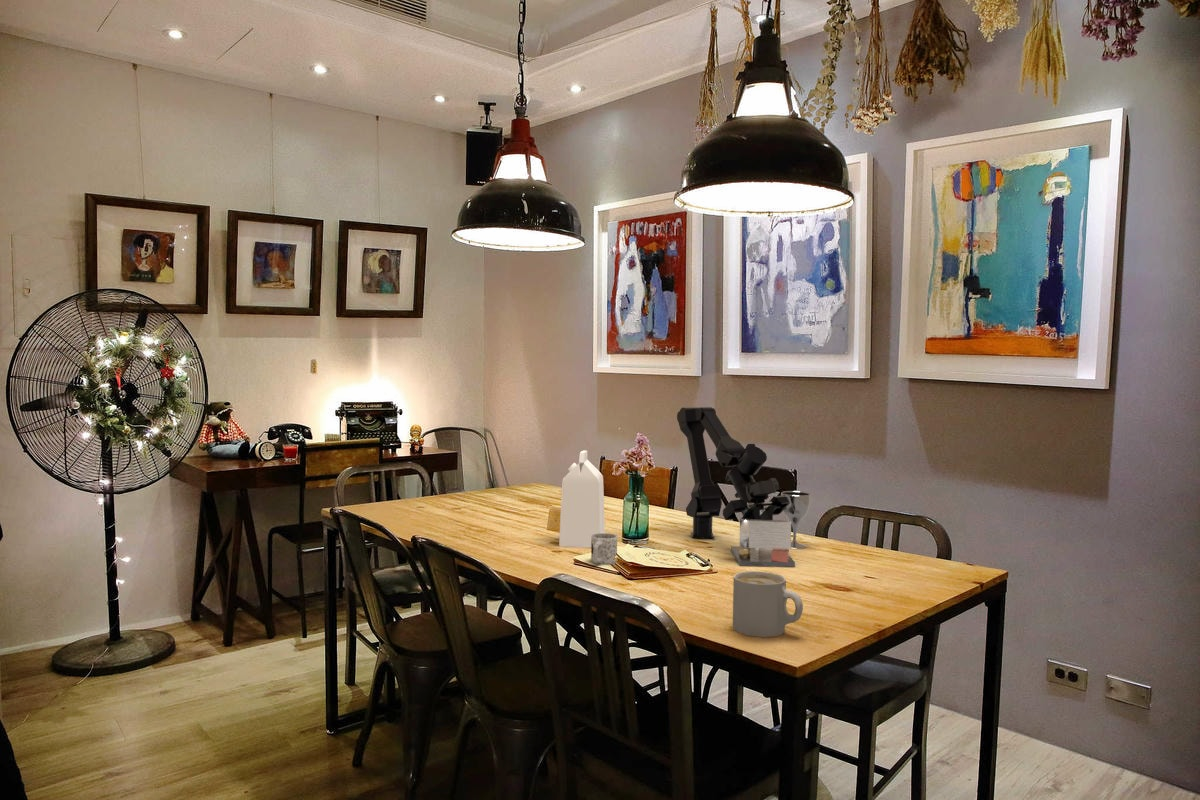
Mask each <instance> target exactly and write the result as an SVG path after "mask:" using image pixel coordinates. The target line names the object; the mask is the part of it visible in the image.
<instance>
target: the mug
mask: <svg viewBox="0 0 1200 800" xmlns="http://www.w3.org/2000/svg"><path fill="white" fill-rule="evenodd" d="M590 549H591V550H590V552H591V554H590V562H591V563H592V564H596V565H602V566H604V565H605V566H606V565H608V566H609V565H614V564H617V563H618V559H617V558H618V557H617V558H616V559H614V558H615V556H616V553H617V554H618V535H616V534H615V533H609V532H608V533H607V532H605V533H599V534H593V535H592V536H591V548H590ZM612 559H614V560H612Z"/></svg>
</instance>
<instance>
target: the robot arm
mask: <svg viewBox="0 0 1200 800" xmlns="http://www.w3.org/2000/svg"><path fill="white" fill-rule="evenodd" d="M676 420H677V423H678V426H679V430H680V431H681V433H682V434H684V436H685V437H686V439H687V445H688V446H687V447H688V451H689V458H690V463H691V468H692V476H693V480H694V481H693V482H694V485H693V488H692V490H691V493H690V495H691V497H690V498H691V499H690V501H689V502H688V504H687V506H686V507H685V511H686V516H689V517H690V518H692V531H691V532H690V536H691V538H692V539H710V540H711V539H715V535H714V533H713V518H714V517H719V516H720V512H721V509H722V505H723V501H722V494H721V490H720V489H721V488H720V485H718V484H714V482H713V481H712V478H711V477H712V476H711V473H710V472H711V471H710V466H709V460H708V454H707V449H706V444H705V437H704V433H705V431H706V434H707V435H708V437H709V438H710V439H711V442H712V443H713V444H714V447H715V456H716V459H717V461H718V464H719V465H720V466H721V467H723V468H730V469H729V470H727V471H726V476H725V481H726V482H730V481H731V483H732V485H733V487H734V489H735V492H736V493H735V494H734V496H735V499H733V500H730V501H729V502H728V503H727V504H726V506H725V507H724V508H723V510H722V516H723V518H724V520H725V521H731V520H735V519H736V516H737V515H736V513H741V514H742V517H741V518H740V519H758V520H774V516H777V515H780V514H782V512H783V510H784V509H785V508H786V507H787V506H788V505H789V504H790V502H789V500H788V498H787V496H781V495H776V496H775V495H774V496H773V497H772V498H771V499H770V500H769V501H766V500H768V498H769V497H770V496H769V495H771V494H775V493H777V491H778V490H779V489H780V485H779V482H778V481H779V480H777V479H776V477H771V478H769V479H767V480H761V481H755V479H754V477H753V476H756V474H758V472H759V470H760V469H761V468H762V467H763V465H764V464H765V463H766V461H767V459H768V458H767V453H766V452H765V451H763V449H761V447H757V446H756V444H755V443H747V444H746V446H745V447H744V446H743V445H742V444H741V443H740V442H739V441H738V440H737V439H734V438H733V437H731V436H730V434H729V432H728V430H727V429H726V428H725V426H724V425H723V423H722V421H721V420H720V418H719V416H718V415H717V412H716V409H715V408H714V407H711V406H703V407H702V406H701V407H699V406H698V407H697V406H695V407H689V406H688V407H686V406H685V407H681V408H680V409H679V411H677V413H676ZM738 498H739V499H738Z"/></svg>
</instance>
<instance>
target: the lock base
mask: <svg viewBox="0 0 1200 800" xmlns="http://www.w3.org/2000/svg"><path fill="white" fill-rule="evenodd" d="M789 551H790V550H788V549H768V548H743V547H740V546H737V545H736V546H734V545H733V546H730V553H731V554H732V557H734V559H735V560H736V562H737V564H738V566H739V567H778V568H779V567H781V568H784V567H786V568H795V566H796V562H795V561H794V560H793V558H792V557H791V556H790V555H789V554H790V552H789Z"/></svg>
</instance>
